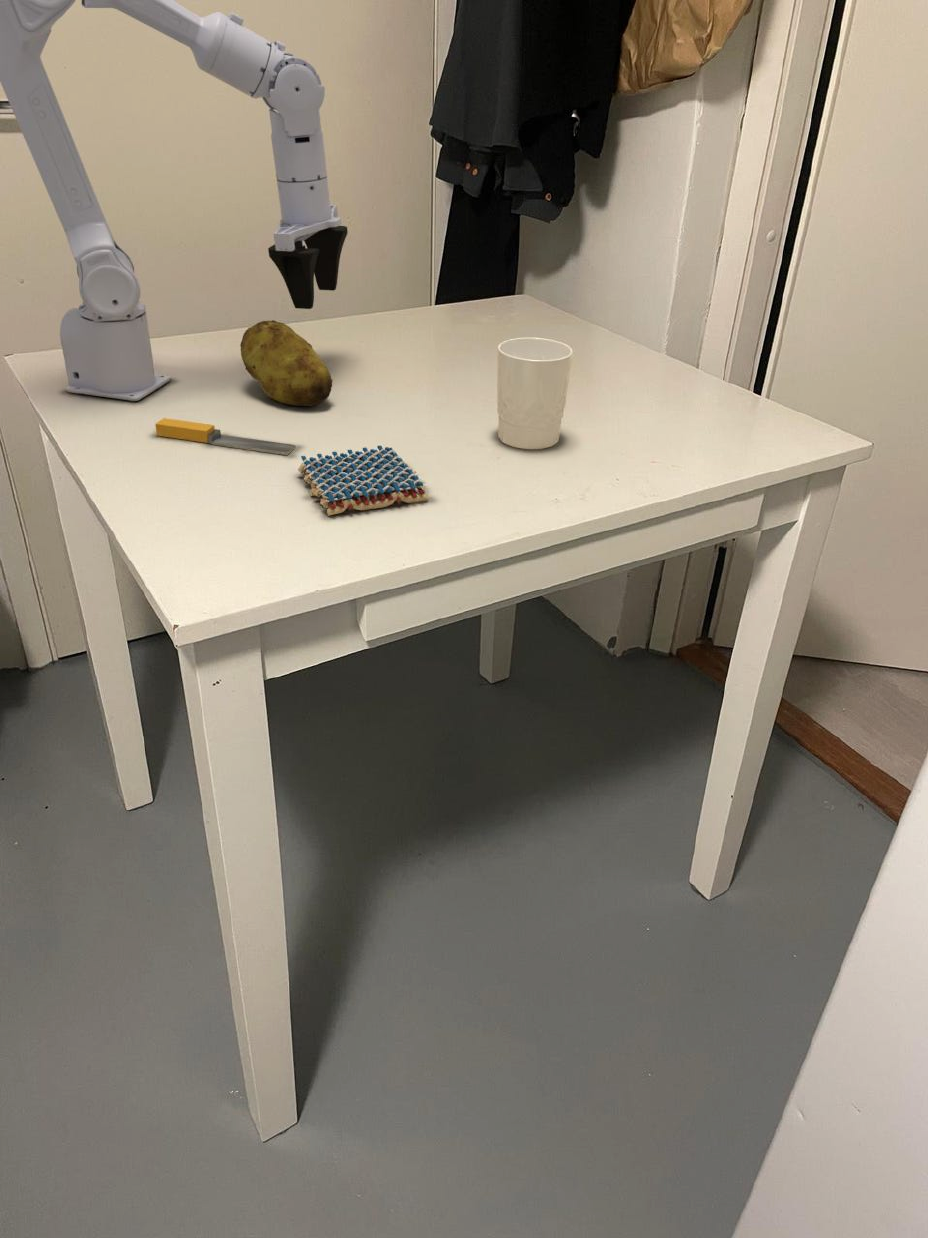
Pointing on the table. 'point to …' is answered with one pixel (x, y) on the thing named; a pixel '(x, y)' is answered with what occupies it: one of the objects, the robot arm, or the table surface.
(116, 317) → the robot arm
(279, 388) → the potato
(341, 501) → the woven mat
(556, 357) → the white cup
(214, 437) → the knife
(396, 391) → the table surface
